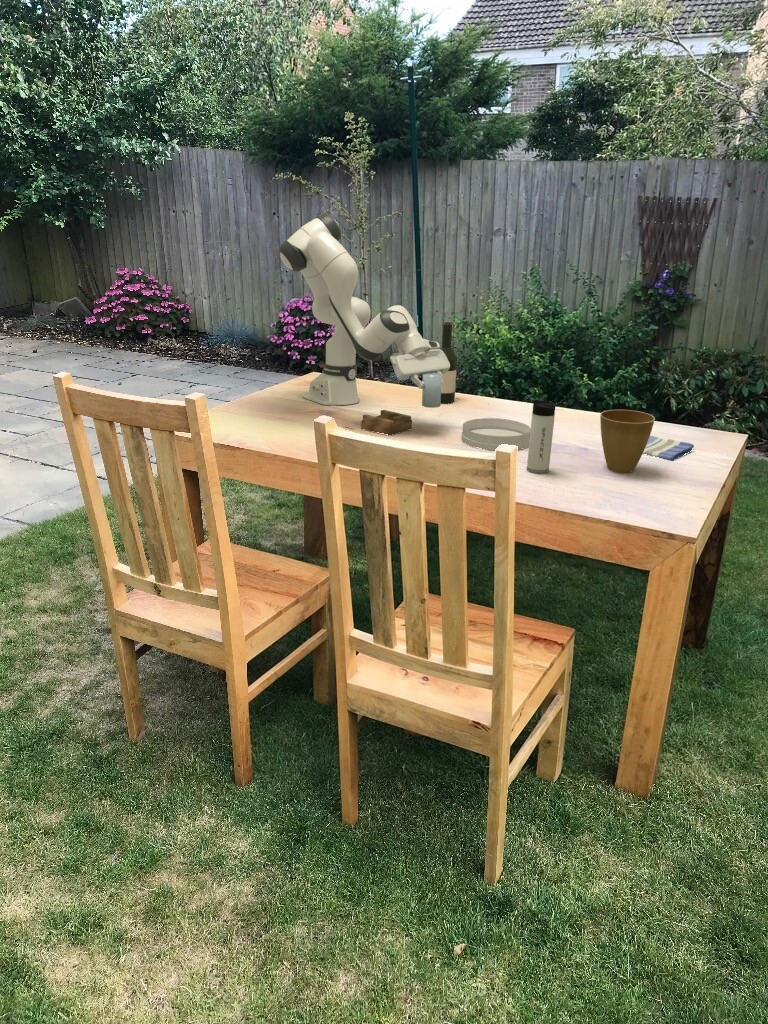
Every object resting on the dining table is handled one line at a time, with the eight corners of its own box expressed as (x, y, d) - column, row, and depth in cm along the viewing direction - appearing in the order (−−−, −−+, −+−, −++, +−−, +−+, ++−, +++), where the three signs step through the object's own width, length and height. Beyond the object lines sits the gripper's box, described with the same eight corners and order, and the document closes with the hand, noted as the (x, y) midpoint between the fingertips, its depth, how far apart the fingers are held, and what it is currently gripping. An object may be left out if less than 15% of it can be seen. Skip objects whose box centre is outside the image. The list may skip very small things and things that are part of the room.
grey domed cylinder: (418, 405, 253) (419, 374, 249) (429, 401, 258) (430, 371, 254) (433, 408, 250) (434, 377, 246) (444, 405, 254) (445, 374, 250)
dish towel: (627, 436, 263) (628, 428, 262) (695, 451, 248) (697, 443, 247) (601, 446, 251) (602, 437, 250) (671, 463, 236) (672, 454, 235)
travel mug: (532, 465, 229) (539, 398, 222) (552, 470, 225) (560, 402, 218) (521, 470, 224) (528, 401, 217) (542, 475, 221) (549, 405, 213)
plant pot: (606, 458, 237) (613, 406, 232) (654, 469, 229) (663, 415, 223) (584, 469, 227) (591, 415, 221) (634, 481, 218) (642, 425, 212)
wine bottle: (454, 399, 304) (459, 321, 293) (454, 404, 297) (459, 324, 286) (433, 398, 305) (437, 320, 294) (432, 403, 297) (436, 323, 286)
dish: (533, 436, 259) (534, 421, 258) (526, 455, 239) (528, 439, 238) (466, 430, 264) (467, 415, 263) (455, 447, 245) (456, 432, 243)
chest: (361, 429, 261) (361, 414, 259) (384, 422, 270) (384, 408, 268) (388, 436, 254) (389, 421, 252) (411, 429, 263) (412, 414, 261)
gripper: (392, 348, 247) (410, 384, 243) (442, 341, 258) (460, 376, 254) (383, 360, 252) (401, 396, 248) (433, 353, 263) (450, 387, 259)
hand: (431, 386), depth 251 cm, fingers closed on grey domed cylinder, 6 cm apart
